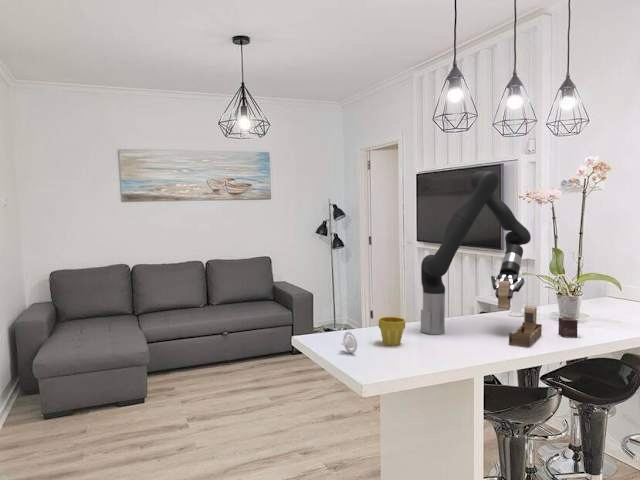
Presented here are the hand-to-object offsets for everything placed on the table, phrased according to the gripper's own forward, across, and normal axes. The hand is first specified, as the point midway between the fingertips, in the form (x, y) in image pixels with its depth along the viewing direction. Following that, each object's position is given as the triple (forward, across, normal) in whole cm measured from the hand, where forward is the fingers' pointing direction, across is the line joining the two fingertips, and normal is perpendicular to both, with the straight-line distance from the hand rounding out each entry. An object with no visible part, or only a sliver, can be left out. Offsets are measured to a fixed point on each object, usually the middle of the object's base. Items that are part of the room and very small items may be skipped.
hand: (503, 297), depth 211 cm
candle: (-23, -5, +46) cm, 52 cm away
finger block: (+2, 0, +5) cm, 5 cm away
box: (0, +22, +24) cm, 33 cm away
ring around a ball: (+52, -41, -28) cm, 72 cm away
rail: (+11, +9, +12) cm, 19 cm away
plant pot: (+37, -33, -13) cm, 51 cm away
